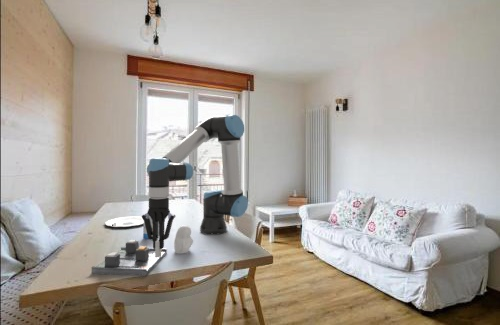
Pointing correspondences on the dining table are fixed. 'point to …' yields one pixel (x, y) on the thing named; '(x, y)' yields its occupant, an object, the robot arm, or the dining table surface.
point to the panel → (130, 264)
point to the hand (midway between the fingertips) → (158, 256)
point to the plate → (119, 221)
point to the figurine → (183, 239)
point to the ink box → (146, 231)
